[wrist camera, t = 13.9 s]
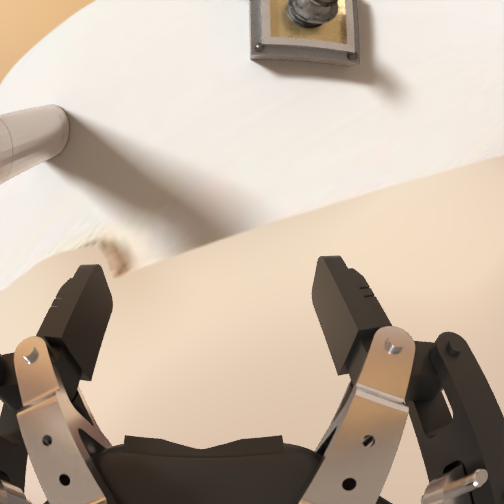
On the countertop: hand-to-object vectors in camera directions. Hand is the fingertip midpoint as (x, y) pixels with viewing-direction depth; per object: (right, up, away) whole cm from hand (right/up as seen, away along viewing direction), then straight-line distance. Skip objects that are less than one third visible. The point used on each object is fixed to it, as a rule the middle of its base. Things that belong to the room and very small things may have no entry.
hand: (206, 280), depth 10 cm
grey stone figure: (+8, +31, +15) cm, 35 cm away
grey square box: (+8, +33, +18) cm, 39 cm away
